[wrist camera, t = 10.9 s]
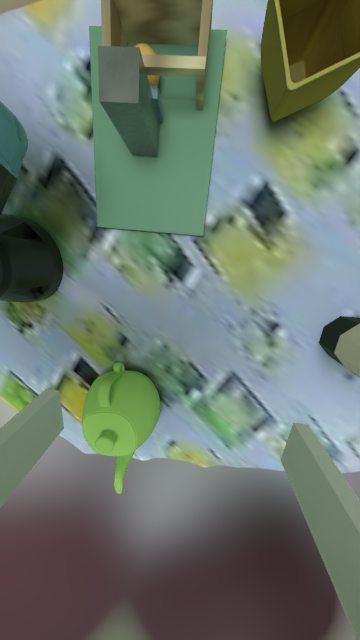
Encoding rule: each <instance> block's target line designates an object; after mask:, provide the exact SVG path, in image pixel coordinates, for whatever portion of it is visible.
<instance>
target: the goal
mask: <svg viewBox="0 0 360 640" xmlns="http://www.w3.org/2000/svg"><path fill="white" fill-rule="evenodd" d="M212 6H213V0H101V16H102V46H116V47H126V40H127V43H132V44H140V43H144V44H162V45H192V46H198V56H176V55H148V54H141V55H142V58H143V62H144V66H145V70H146V73H147V75H157V76H181V77H196V110H203V107H204V97H205V87H206V77H207V66H208V56H209V46H210V36H211V22H212Z"/></svg>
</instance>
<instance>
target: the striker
mask: <svg viewBox="0 0 360 640" xmlns="http://www.w3.org/2000/svg"><path fill="white" fill-rule="evenodd" d="M98 74H99V102H100V103H101V105H102V107H103V108H104V110H105V111H106V113H107V115H108V116H109V118H110V120H111V121H112V123H113V125H114V126H115V128H116V129H117V131H118V133H119V134H120V136H121V138H122V139H123V141H124V143H125V144H126V146H127V148H128V149H129V151H130V152H131V154H132V155H143V156H158V149H159V127H160V122H163V107H162V102H161V98H160V93H159V89H158V86H155V85H149V81H148V77H147V73H146V70H145V66H144V62H143V58H142V55H141V51H140V47H116V46H98Z"/></svg>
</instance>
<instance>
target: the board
mask: <svg viewBox="0 0 360 640" xmlns="http://www.w3.org/2000/svg"><path fill="white" fill-rule="evenodd" d="M89 32H90V57H91V83H92V108H93V133H94V159H95V184H96V209H97V227H100V228H110V229H122V230H133V231H145V232H156V233H168V234H179V235H191V236H202V237H203V232H204V223H205V214H206V206H207V197H208V189H209V180H210V171H211V163H212V154H213V146H214V137H215V129H216V120H217V111H218V103H219V94H220V86H221V77H222V68H223V60H224V51H225V43H226V34H227V30H211V36H210V46H209V56H208V66H207V77H206V87H205V97H204V107H203V110H196V77H181V76H160V79H159V83H158V89H159V93H160V98H161V102H162V107H163V122H160V127H159V149H158V156H143V155H132V154H131V152H130V151H129V149H128V148H127V146H126V144H125V143H124V141H123V139H122V138H121V136H120V134H119V133H118V131H117V129H116V128H115V126H114V125H113V123H112V121H111V120H110V118H109V116H108V115H107V113H106V111H105V110H104V108H103V107H102V105H101V103H100V102H99V74H98V46H102V26H89ZM136 45H137V44H132V43H127V40H126V47H135V46H136ZM147 45H149V46H150V47H151V48H152V49H153V50H154V52H155V54H156V55H176V56H198V46H192V45H162V44H147Z"/></svg>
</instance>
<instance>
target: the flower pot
mask: <svg viewBox="0 0 360 640" xmlns="http://www.w3.org/2000/svg"><path fill="white" fill-rule="evenodd" d="M261 66H262V73H263V79H264V84H265V90H266V95H267V101H268V106H269V112H270V118H271V120H272V121H273V122H275V121H278V120H280V119H282V118H284V117H286V116H288V115H290V114H293V113H295V112H297V111H299V110H301V109H303V108H305V107H308V106H310V105H312V104H314V103H317V102H319V101H321V100H322V99H324V98H326V97H327V96H329V95H331V94H332V93H333V92H335V91H336V90H337V89H338V88H340V87H341V86H342V85H343V84H344V83H345V82H346V81H347V80H348V79H349V78H350V77H351V76H352V75H353V74H354V73H355V72H356V71H357V70H358V69H359V68H360V0H268V4H267V10H266V16H265V22H264V28H263V34H262V41H261Z"/></svg>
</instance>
